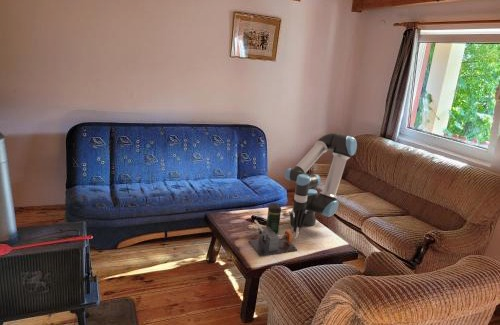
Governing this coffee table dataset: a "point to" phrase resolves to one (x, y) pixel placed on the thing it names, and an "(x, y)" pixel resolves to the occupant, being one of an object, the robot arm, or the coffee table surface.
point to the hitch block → (271, 243)
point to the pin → (286, 236)
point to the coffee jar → (274, 217)
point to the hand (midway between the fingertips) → (295, 236)
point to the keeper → (259, 227)
